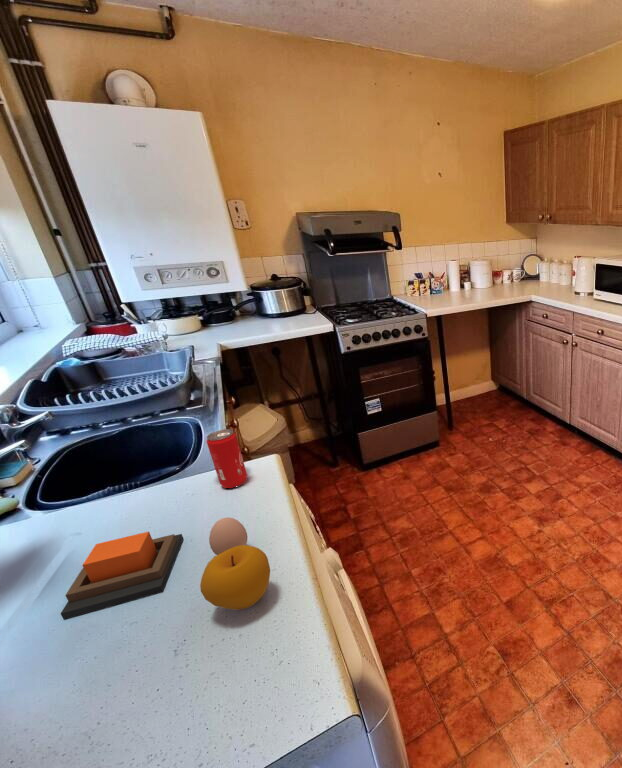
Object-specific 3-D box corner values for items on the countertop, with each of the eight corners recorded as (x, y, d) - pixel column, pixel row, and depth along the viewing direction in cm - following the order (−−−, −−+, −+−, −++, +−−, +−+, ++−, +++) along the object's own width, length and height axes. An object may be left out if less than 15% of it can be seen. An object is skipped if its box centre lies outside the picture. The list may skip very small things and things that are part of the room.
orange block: (93, 587, 67) (82, 565, 66) (106, 565, 71) (96, 543, 70) (148, 573, 70) (139, 550, 68) (157, 552, 74) (149, 531, 72)
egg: (253, 557, 74) (242, 522, 71) (216, 571, 71) (203, 535, 69) (249, 539, 78) (239, 505, 76) (215, 552, 75) (203, 517, 73)
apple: (202, 633, 61) (183, 585, 58) (222, 586, 68) (206, 541, 65) (270, 617, 63) (255, 570, 60) (281, 574, 71) (269, 530, 67)
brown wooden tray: (63, 619, 63) (55, 605, 62) (100, 559, 74) (94, 547, 73) (163, 591, 68) (157, 578, 67) (183, 538, 79) (179, 526, 78)
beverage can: (224, 478, 97) (209, 430, 92) (250, 474, 98) (237, 426, 94) (217, 492, 92) (201, 442, 88) (245, 487, 94) (230, 437, 89)
